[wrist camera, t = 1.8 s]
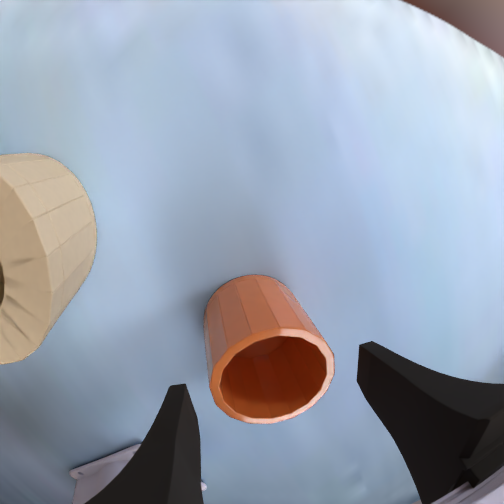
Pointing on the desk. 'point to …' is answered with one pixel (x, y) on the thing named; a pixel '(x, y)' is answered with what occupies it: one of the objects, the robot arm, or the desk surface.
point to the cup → (263, 352)
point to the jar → (40, 248)
